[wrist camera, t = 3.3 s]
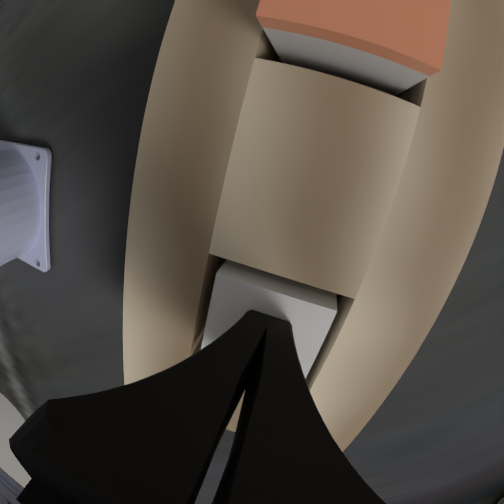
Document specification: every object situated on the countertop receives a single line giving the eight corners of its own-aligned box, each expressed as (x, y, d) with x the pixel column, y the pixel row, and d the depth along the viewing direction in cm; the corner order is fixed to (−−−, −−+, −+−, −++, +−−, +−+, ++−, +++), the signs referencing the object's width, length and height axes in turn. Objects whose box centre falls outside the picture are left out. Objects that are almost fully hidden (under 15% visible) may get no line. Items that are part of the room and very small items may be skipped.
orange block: (284, 67, 9) (255, 15, 5) (307, -17, 8) (293, -98, 3) (390, 98, 9) (441, 70, 4) (407, 12, 7) (453, -53, 3)
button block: (168, 330, 17) (124, 387, 12) (257, -59, 9) (229, -119, 4) (339, 384, 16) (337, 457, 11) (467, 1, 8) (514, -41, 3)
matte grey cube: (233, 298, 15) (198, 362, 10) (252, 227, 13) (216, 273, 9) (307, 321, 14) (297, 393, 10) (333, 252, 13) (337, 310, 9)
